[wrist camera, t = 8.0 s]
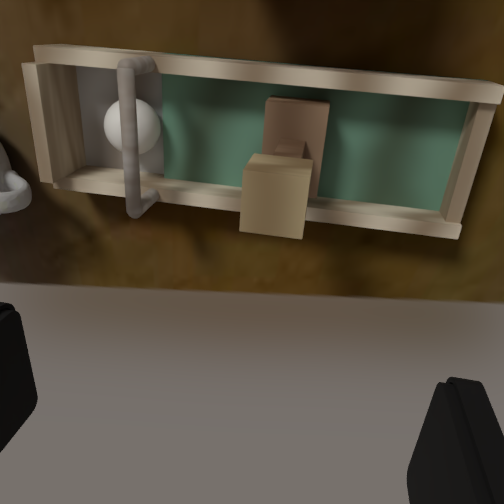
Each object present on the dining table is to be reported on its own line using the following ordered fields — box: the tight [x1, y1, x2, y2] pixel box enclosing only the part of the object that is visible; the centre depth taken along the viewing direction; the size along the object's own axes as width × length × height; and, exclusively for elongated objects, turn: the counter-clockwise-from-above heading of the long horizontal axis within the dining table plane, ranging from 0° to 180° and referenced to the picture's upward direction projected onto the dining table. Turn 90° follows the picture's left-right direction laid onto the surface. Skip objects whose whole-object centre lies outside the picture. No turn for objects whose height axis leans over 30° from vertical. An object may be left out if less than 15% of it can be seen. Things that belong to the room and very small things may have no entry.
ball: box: [104, 99, 161, 154], centre depth 32 cm, size 4×4×4 cm
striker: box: [239, 95, 330, 239], centre depth 26 cm, size 4×6×13 cm, turn 176°
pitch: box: [22, 44, 504, 239], centre depth 30 cm, size 30×10×8 cm, turn 86°
